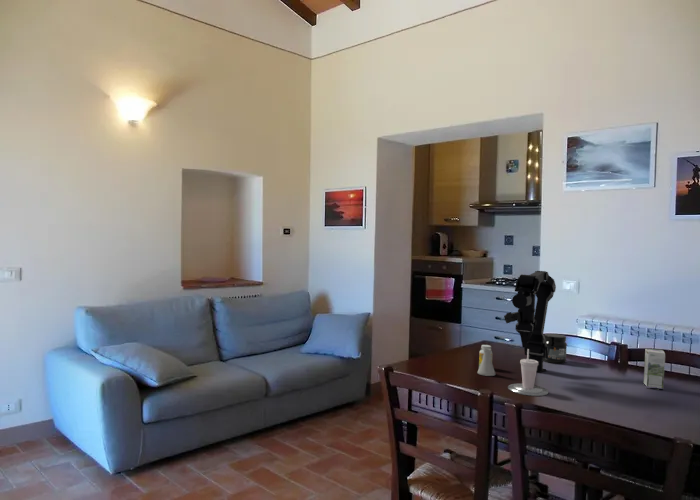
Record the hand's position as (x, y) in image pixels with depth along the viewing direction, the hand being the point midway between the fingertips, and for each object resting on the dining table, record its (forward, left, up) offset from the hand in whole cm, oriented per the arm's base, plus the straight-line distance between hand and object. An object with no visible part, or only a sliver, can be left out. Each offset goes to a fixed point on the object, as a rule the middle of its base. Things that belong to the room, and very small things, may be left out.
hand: (525, 345), depth 204 cm
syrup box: (-32, +36, -13) cm, 50 cm away
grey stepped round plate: (+14, +10, -13) cm, 22 cm away
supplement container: (-39, -8, -13) cm, 42 cm away
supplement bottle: (0, -18, -13) cm, 22 cm away
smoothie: (+14, +10, -12) cm, 21 cm away
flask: (+8, -12, -13) cm, 20 cm away
